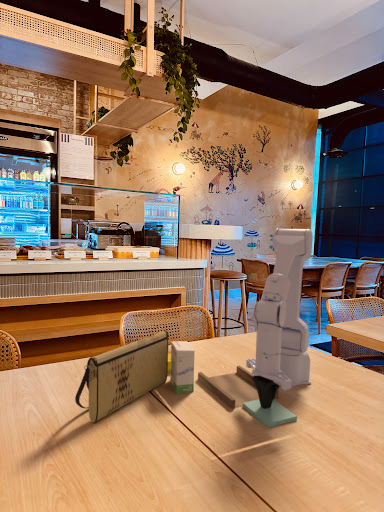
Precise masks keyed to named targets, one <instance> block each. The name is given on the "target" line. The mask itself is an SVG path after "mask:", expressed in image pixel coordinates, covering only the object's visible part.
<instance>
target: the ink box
mask: <svg viewBox="0 0 384 512" xmlns="http://www.w3.org/2000/svg"><path fill="white" fill-rule="evenodd" d="M170 344H171V373H169V374H170V375H169V377H170V379H169V381H170V383H171V386H172V387H173V388H172V389H173V390H174V392H175V394H185V393H194V386H195V385H194V384H195V383H194V382H195V381H194V380H195V349H194V348H193V347H192V345H191V344H190V343H189V342H188V341H186V340H185V341H184V340H183V341H182V340H181V341H179V340H178V341H177V340H176V341H171V343H170Z"/></svg>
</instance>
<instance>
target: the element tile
mask: <svg viewBox="0 0 384 512" xmlns="http://www.w3.org/2000/svg"><path fill="white" fill-rule="evenodd" d="M170 373H171V345H170V344H168V373H167V374H170Z"/></svg>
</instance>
